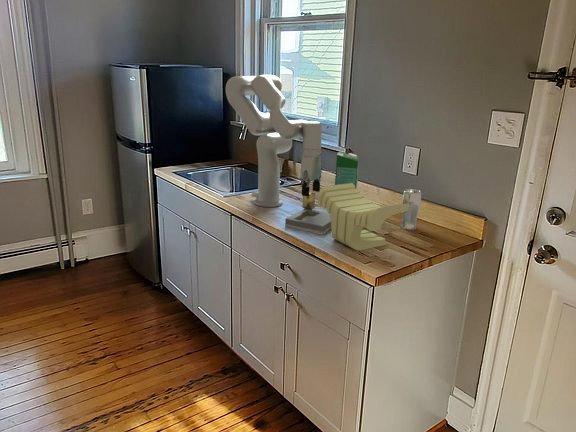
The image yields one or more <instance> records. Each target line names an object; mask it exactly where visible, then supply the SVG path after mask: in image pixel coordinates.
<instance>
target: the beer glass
mask: <svg viewBox="0 0 576 432" xmlns="http://www.w3.org/2000/svg"><path fill="white" fill-rule="evenodd" d="M421 202H422V191H421V190H419V189H415V188H414V189H413V188H406V189H404V190H403V195H402V202H401V204H405V203H409V209H408V211H405V212H402V221H401V224H400V228H401V229H403V230H406V231H415V230H417V219H418V215H419V212H420V208H421Z"/></svg>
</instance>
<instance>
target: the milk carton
mask: <svg viewBox="0 0 576 432" xmlns="http://www.w3.org/2000/svg"><path fill="white" fill-rule="evenodd" d="M359 167H360V157H359V156H358V155H357V154H355V153H353V152H349V153H346V152H344V151H340V150H338V152H337V154H336V164H335V175H334V176H335V177H334V178H335V179H334V185H339V184H348V183H353V184H354V185H355V189H358V182H359V181H358V179H359Z"/></svg>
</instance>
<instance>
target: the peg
mask: <svg viewBox="0 0 576 432" xmlns="http://www.w3.org/2000/svg"><path fill="white" fill-rule="evenodd" d="M301 206H302V208H303V209H308V210H314V209H315V207H316V193H315V192H314V191H313V192H312V191H309V196H302V205H301Z"/></svg>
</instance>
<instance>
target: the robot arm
mask: <svg viewBox="0 0 576 432" xmlns="http://www.w3.org/2000/svg"><path fill="white" fill-rule="evenodd" d="M282 88H283V85H282V81H281V79H280V78H279V77H278V76H276V75H273V74H259V75H235V76H232V77H230V78H229V79H228V80H227V82H226V84H225V96H226V99H227V101H228V103H229V104H230V106H231V107H232V109H234V111H235V112H236V113H237V115H238V116H239V119H241V121H242V122H243V124H244V126H245V127H246V128H247V130H248V132H249V133H250V134H251V135H254V136H259V137H258V138H257V140H256V143H255V144H256V152H257V159H258V162H257V163H258V165H257V166H258V168H257V169H258V173H257V175H258V176H257V177H258V178H257V179H258V182H257V183H258V184H257V186H258V187H257V189H258V190H257V191H252V192H251V197H252V198H255V200H254V204H255V206H258V207H262V208H263V207H264V208H275V207H276V208H277V207H280V206H282V205H283V200H282V199H280V186H281V185H280V182H281V180H280V179H281V162H280V160H279V156H278V154H283V153H286V152H288V151H290V150H291V149H292V147H293V140H296V139H297V140H298V139H302V155H301V156H302V157H301V163H300V176H299V179H300V183H301V184H300V186H301V196H302V197H303V196H309V192H310V186H309V185H310V182H312V191H313V192H318V193H319V191H320V190H321V178H322V174H323V173H322V172H323V170H322V169H321V168H322V167H321V166H322V164H321V156H322V129H323V128H322V123H321V122H319V121H315V120H314V121H309V120H304V119H295V120H293V119H292V120H289V119H288V118H287V117H286V116H285V114H284V113H283V112H282V109H283V107H285V104H286V98H285V96H284V95H283V94H282V92H281V91H282ZM247 96H256V97H257V98H258V99H259V101H260V102H262V104H263V105H264V106H265V108H266V109H267V110H268V112H261V111H260V110H259V109H258V107H257V106H256V103H254V102H253V101H252V100H251V99H250V98H249V97H247Z"/></svg>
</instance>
